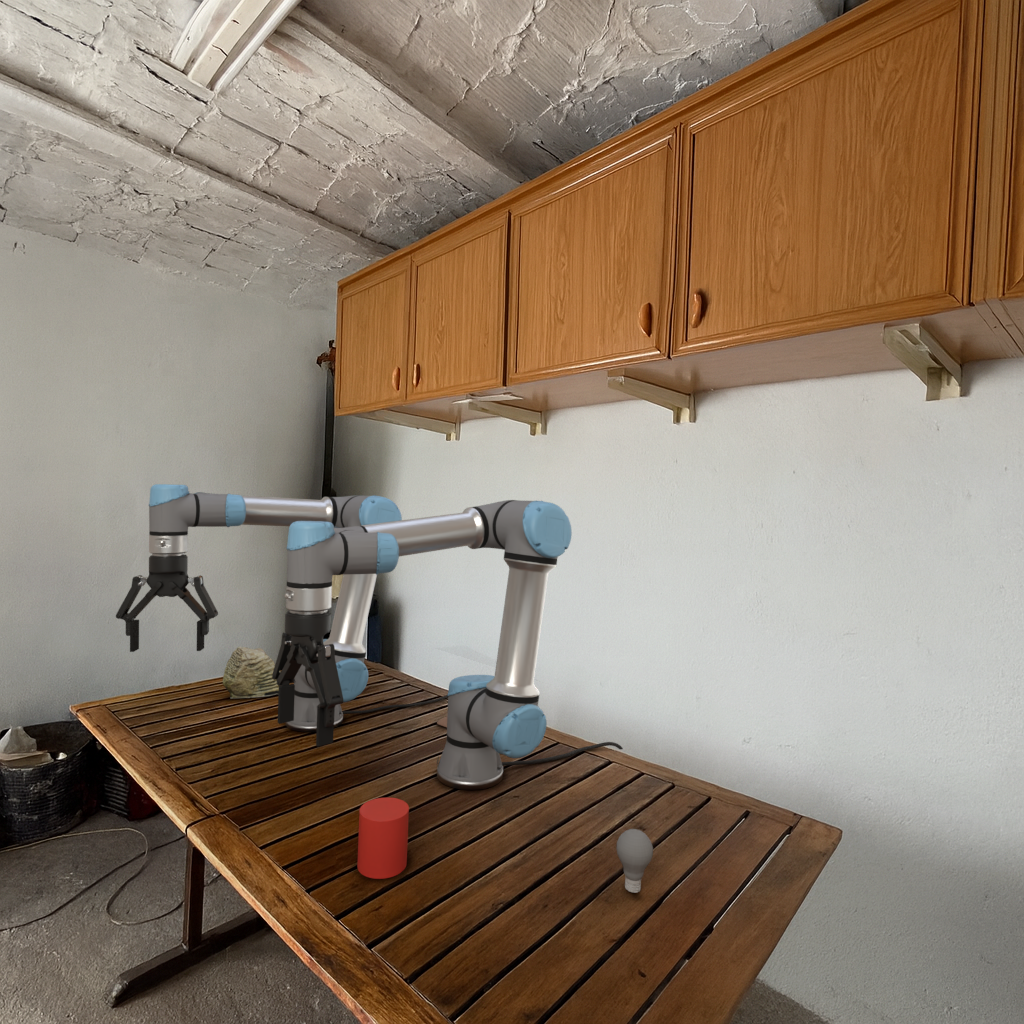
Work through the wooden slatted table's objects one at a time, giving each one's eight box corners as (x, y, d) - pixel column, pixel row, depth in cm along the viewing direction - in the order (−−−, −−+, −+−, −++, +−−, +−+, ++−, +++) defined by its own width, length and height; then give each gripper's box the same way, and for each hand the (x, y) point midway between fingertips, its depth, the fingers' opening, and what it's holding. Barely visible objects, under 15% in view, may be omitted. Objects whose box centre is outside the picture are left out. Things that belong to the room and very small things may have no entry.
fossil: (218, 695, 195) (220, 647, 195) (278, 685, 208) (279, 640, 207) (228, 703, 189) (230, 653, 188) (289, 692, 201) (290, 645, 201)
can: (383, 845, 116) (385, 792, 116) (416, 862, 111) (419, 807, 111) (346, 866, 109) (349, 810, 109) (381, 885, 104) (383, 826, 104)
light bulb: (610, 879, 108) (613, 822, 108) (644, 879, 109) (647, 822, 109) (619, 902, 102) (622, 840, 102) (655, 901, 103) (658, 840, 103)
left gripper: (98, 555, 134) (97, 655, 134) (223, 556, 138) (222, 653, 138) (114, 551, 141) (114, 646, 142) (233, 553, 145) (232, 645, 146)
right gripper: (255, 602, 115) (251, 717, 116) (326, 625, 98) (321, 760, 98) (293, 598, 121) (290, 709, 121) (367, 619, 103) (363, 748, 104)
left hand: (167, 650), depth 140 cm, fingers open, 13 cm apart
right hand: (304, 732), depth 110 cm, fingers open, 13 cm apart
